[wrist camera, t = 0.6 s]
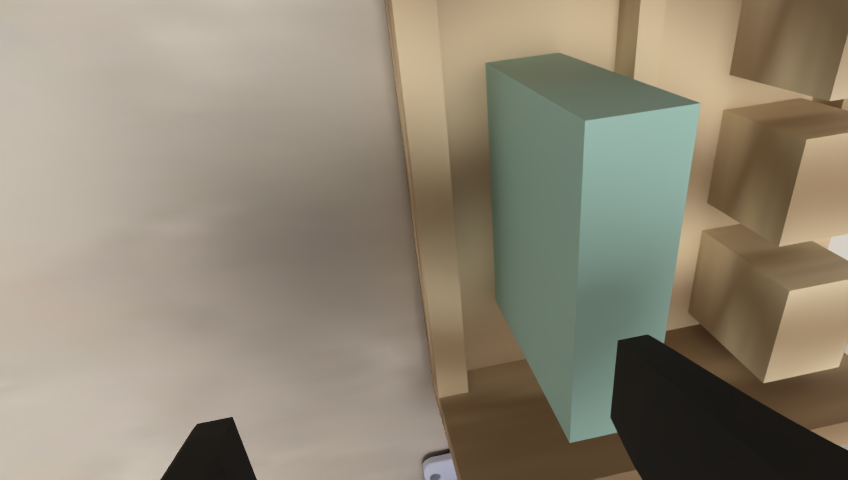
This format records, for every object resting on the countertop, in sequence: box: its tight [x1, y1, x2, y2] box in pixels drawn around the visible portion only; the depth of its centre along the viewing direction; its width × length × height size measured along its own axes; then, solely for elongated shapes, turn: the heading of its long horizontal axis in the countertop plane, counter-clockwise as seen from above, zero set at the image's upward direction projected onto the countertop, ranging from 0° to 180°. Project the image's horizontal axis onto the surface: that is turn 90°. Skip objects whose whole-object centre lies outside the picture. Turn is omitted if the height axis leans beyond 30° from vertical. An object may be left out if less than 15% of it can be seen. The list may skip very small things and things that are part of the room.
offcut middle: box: [707, 98, 848, 247], centre depth 18 cm, size 4×3×4 cm
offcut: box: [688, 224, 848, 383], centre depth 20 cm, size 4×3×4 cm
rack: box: [385, 0, 848, 480], centre depth 16 cm, size 18×16×7 cm
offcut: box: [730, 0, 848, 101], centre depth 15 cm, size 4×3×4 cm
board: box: [485, 53, 701, 443], centre depth 15 cm, size 9×2×7 cm, turn 6°
